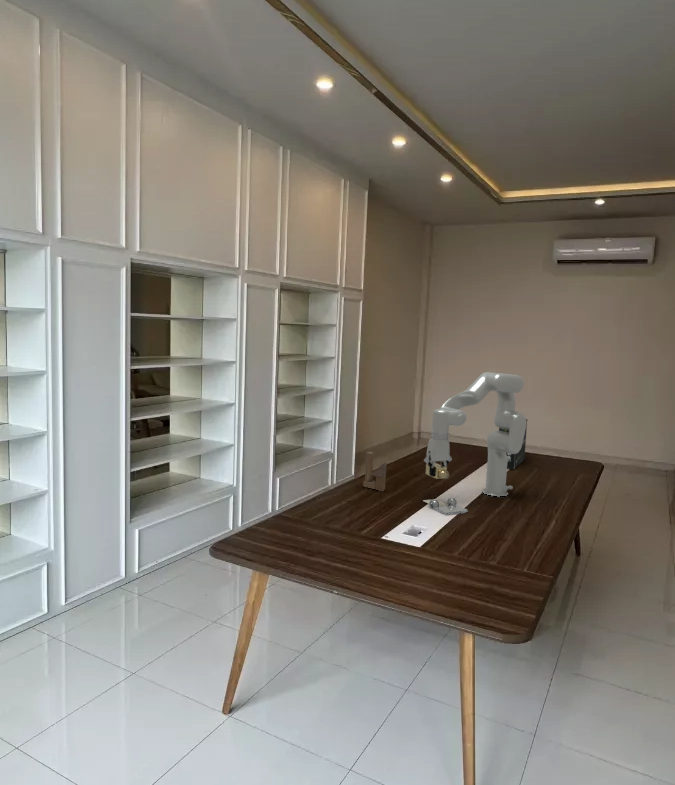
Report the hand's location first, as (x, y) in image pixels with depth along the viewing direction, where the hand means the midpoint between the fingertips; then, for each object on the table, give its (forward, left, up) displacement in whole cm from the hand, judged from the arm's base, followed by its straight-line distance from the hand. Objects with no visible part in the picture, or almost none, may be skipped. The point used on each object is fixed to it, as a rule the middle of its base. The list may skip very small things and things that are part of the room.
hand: (436, 475), depth 264 cm
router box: (-96, -55, -14) cm, 112 cm away
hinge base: (0, +10, -13) cm, 17 cm away
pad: (0, 0, -13) cm, 13 cm away
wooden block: (+16, -29, -14) cm, 36 cm away
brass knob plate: (0, 0, -1) cm, 1 cm away
